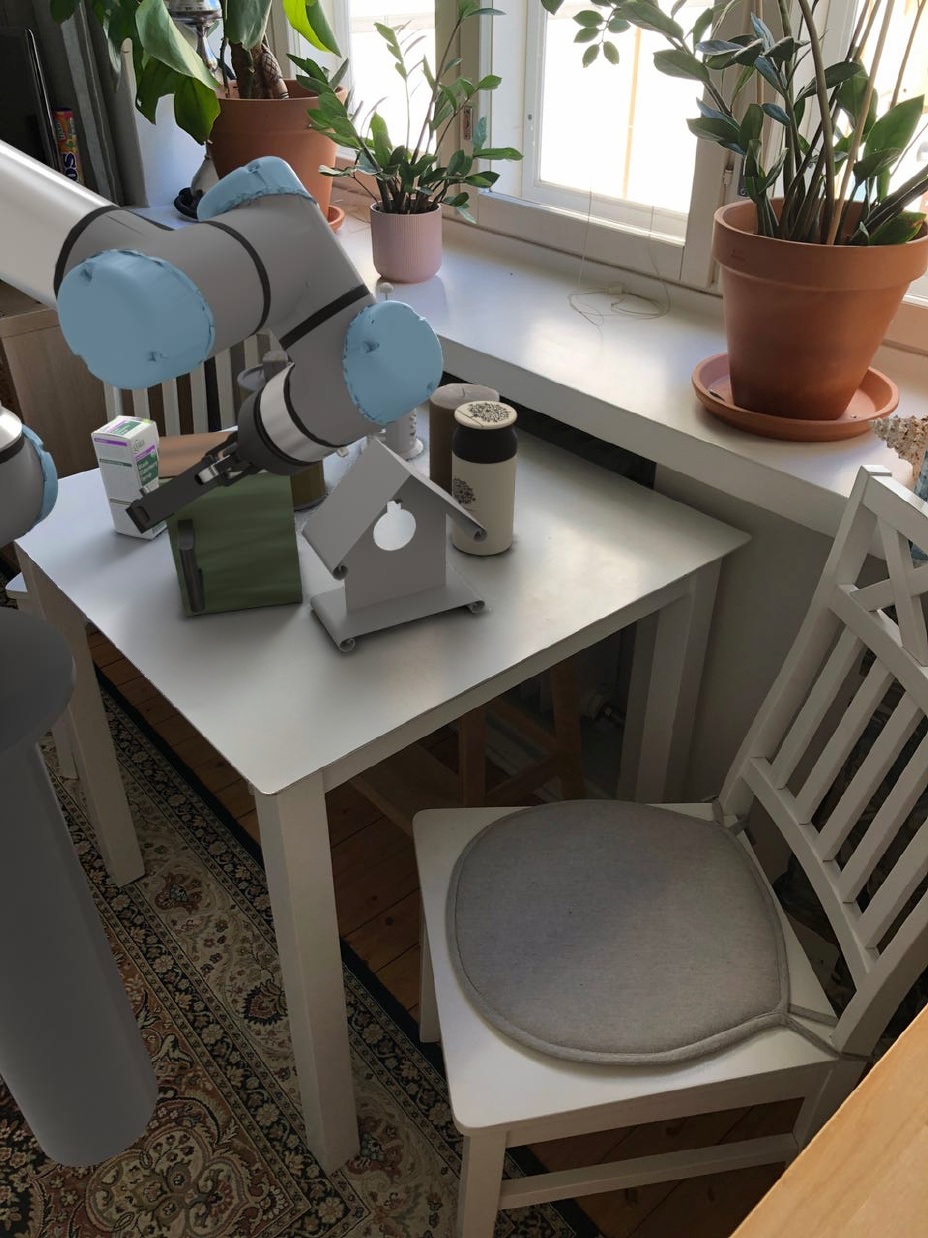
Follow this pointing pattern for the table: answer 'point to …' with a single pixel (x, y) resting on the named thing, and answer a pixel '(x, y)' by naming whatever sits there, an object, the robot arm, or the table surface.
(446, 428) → the pillar candle
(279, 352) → the canister
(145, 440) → the syrup box
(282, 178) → the robot arm
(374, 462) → the grey house-shaped piece
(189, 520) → the door
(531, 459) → the table surface
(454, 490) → the travel mug
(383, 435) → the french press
